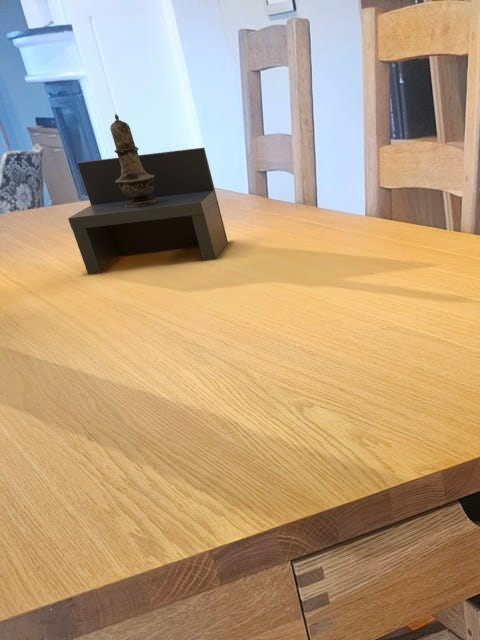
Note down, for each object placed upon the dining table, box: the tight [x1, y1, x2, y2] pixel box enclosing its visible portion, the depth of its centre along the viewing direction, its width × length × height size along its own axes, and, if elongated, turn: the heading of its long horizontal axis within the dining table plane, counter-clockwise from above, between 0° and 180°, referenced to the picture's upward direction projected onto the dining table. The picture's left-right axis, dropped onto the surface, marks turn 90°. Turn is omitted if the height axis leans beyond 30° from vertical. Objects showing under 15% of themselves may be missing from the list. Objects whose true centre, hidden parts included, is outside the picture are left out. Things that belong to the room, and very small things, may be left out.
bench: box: [67, 147, 229, 275], centre depth 131 cm, size 20×14×14 cm
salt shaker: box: [109, 113, 160, 207], centre depth 126 cm, size 6×6×12 cm
